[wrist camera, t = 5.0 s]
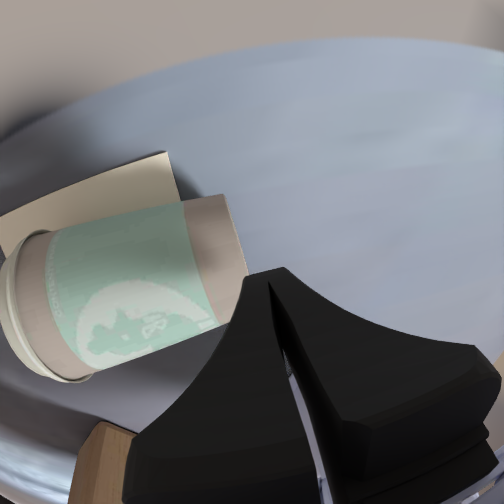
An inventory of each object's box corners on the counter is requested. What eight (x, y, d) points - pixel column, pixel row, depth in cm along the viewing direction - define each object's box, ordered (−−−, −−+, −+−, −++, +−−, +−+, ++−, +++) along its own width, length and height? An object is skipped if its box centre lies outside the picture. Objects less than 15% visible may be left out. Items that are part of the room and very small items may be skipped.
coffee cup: (265, 337, 18) (90, 380, 18) (226, 208, 20) (67, 260, 20) (271, 337, 10) (4, 393, 9) (206, 128, 12) (-12, 218, 11)
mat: (166, 151, 17) (166, 152, 16) (216, 312, 21) (216, 314, 21) (-7, 220, 16) (-9, 221, 16) (55, 343, 21) (54, 345, 21)
